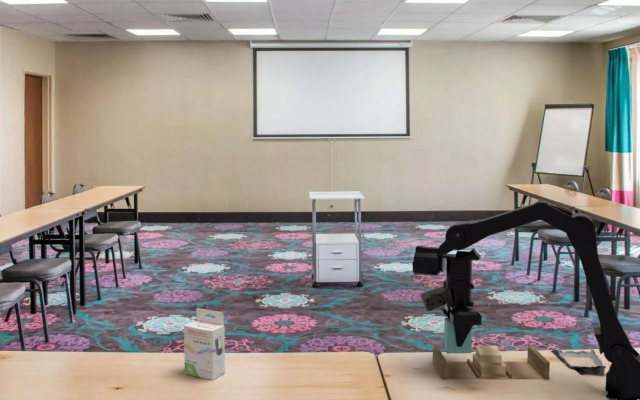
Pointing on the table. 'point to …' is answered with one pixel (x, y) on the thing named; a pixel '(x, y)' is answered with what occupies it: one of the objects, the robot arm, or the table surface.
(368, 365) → the table surface
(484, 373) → the offcut low
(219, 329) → the ink box
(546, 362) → the rack
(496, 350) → the offcut top
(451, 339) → the teal rectangular block
